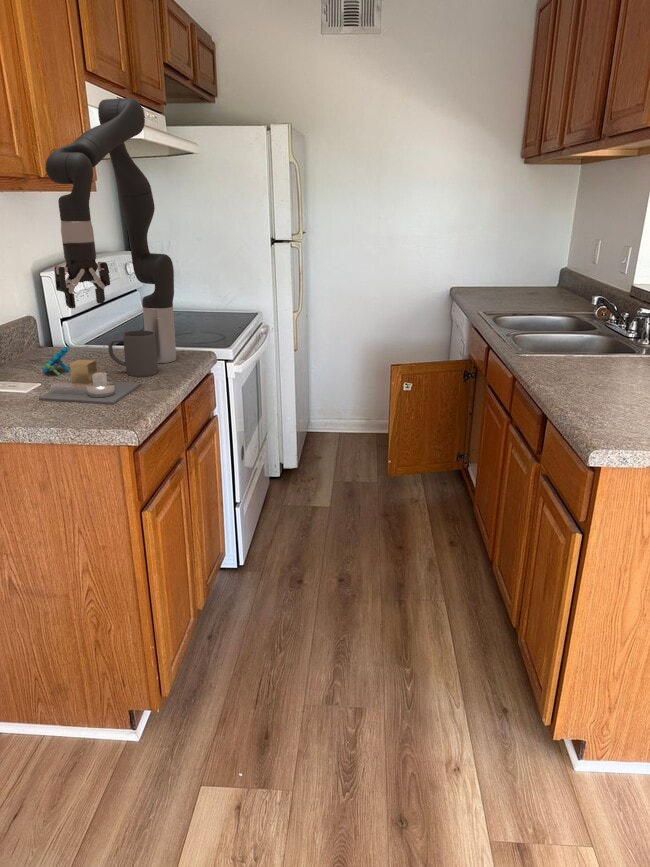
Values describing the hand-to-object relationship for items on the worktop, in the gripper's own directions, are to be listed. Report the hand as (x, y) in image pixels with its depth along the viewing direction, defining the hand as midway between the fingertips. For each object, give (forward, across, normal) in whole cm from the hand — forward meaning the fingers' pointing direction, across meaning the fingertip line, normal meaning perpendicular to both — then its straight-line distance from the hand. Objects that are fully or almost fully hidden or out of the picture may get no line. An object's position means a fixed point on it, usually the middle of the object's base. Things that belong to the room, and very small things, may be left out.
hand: (86, 305), depth 165 cm
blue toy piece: (+24, -5, -26) cm, 35 cm away
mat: (+23, +2, 0) cm, 23 cm away
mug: (+24, -18, -7) cm, 31 cm away
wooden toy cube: (+22, -1, -7) cm, 24 cm away
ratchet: (+22, +5, +1) cm, 23 cm away
